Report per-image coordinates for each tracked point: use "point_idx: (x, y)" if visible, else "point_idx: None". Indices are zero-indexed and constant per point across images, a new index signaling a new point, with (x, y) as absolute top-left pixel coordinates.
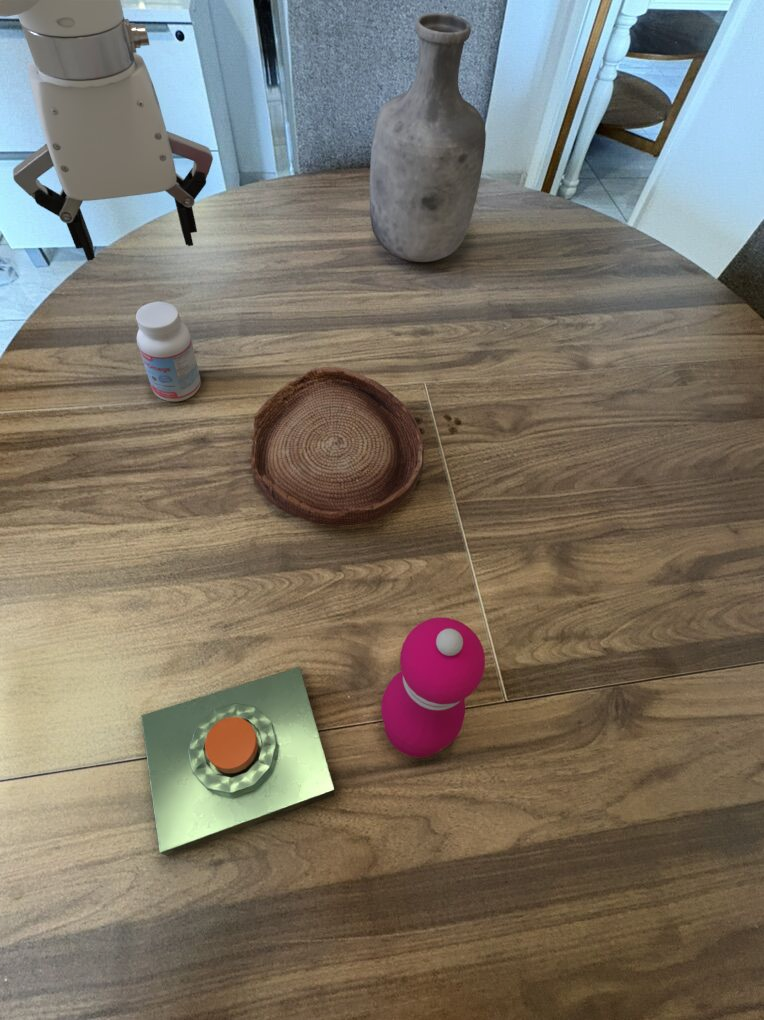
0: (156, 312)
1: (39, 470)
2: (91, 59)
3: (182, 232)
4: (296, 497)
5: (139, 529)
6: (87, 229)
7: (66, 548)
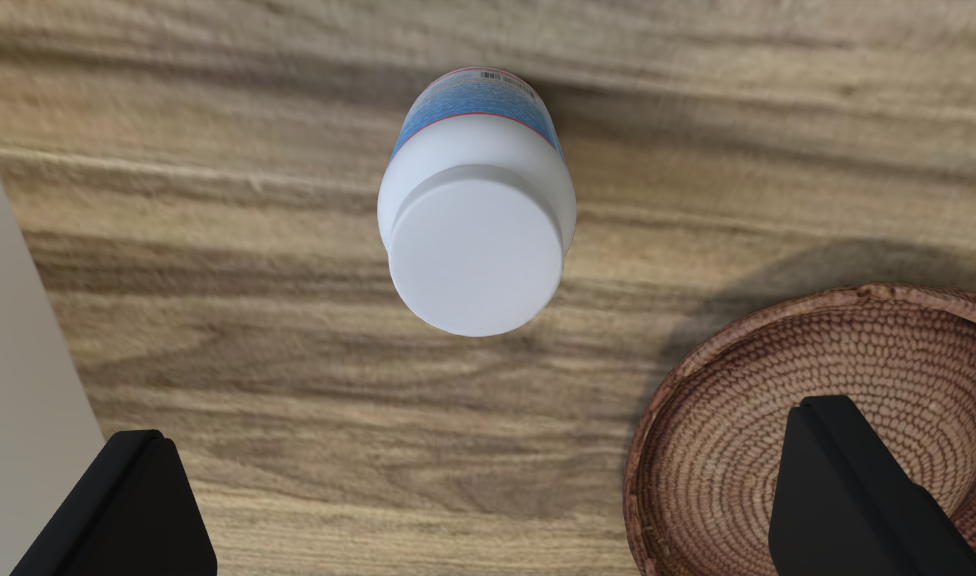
0: (473, 250)
1: (139, 356)
2: None
3: (788, 453)
4: (696, 564)
5: (375, 519)
6: (125, 528)
7: (241, 528)
